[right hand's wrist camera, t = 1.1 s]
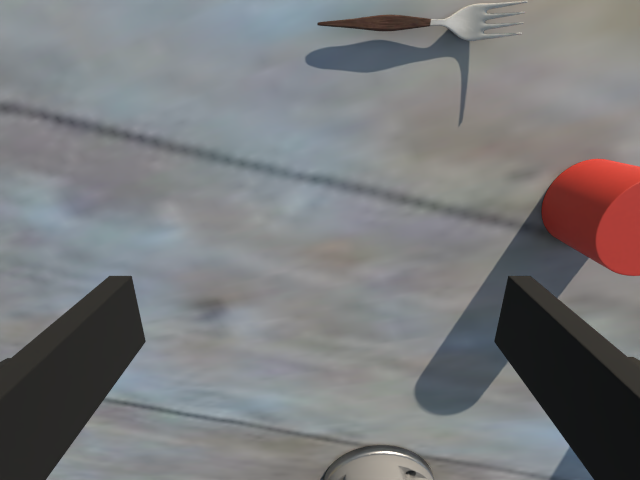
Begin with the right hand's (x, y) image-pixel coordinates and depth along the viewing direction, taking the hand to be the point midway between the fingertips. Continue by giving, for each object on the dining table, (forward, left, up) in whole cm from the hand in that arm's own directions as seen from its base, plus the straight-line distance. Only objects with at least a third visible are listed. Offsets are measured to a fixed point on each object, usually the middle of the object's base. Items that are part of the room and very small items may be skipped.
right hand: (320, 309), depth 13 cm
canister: (-9, -25, -23) cm, 35 cm away
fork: (+11, -11, -23) cm, 27 cm away
